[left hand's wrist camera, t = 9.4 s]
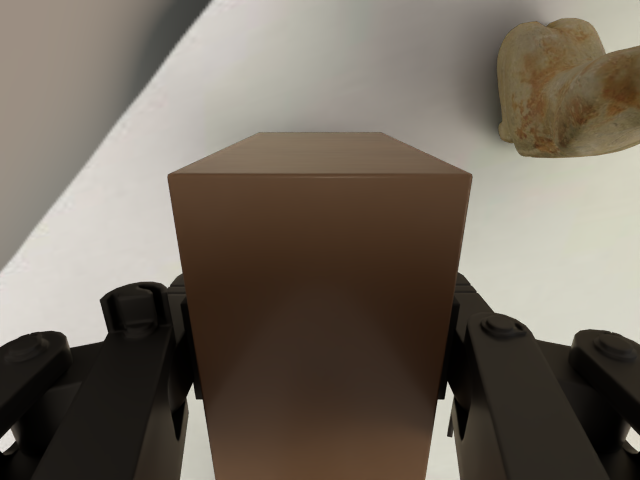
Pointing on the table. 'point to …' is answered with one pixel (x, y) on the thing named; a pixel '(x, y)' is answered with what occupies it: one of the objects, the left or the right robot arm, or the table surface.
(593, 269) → the table surface
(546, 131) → the sculpture
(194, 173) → the bar
